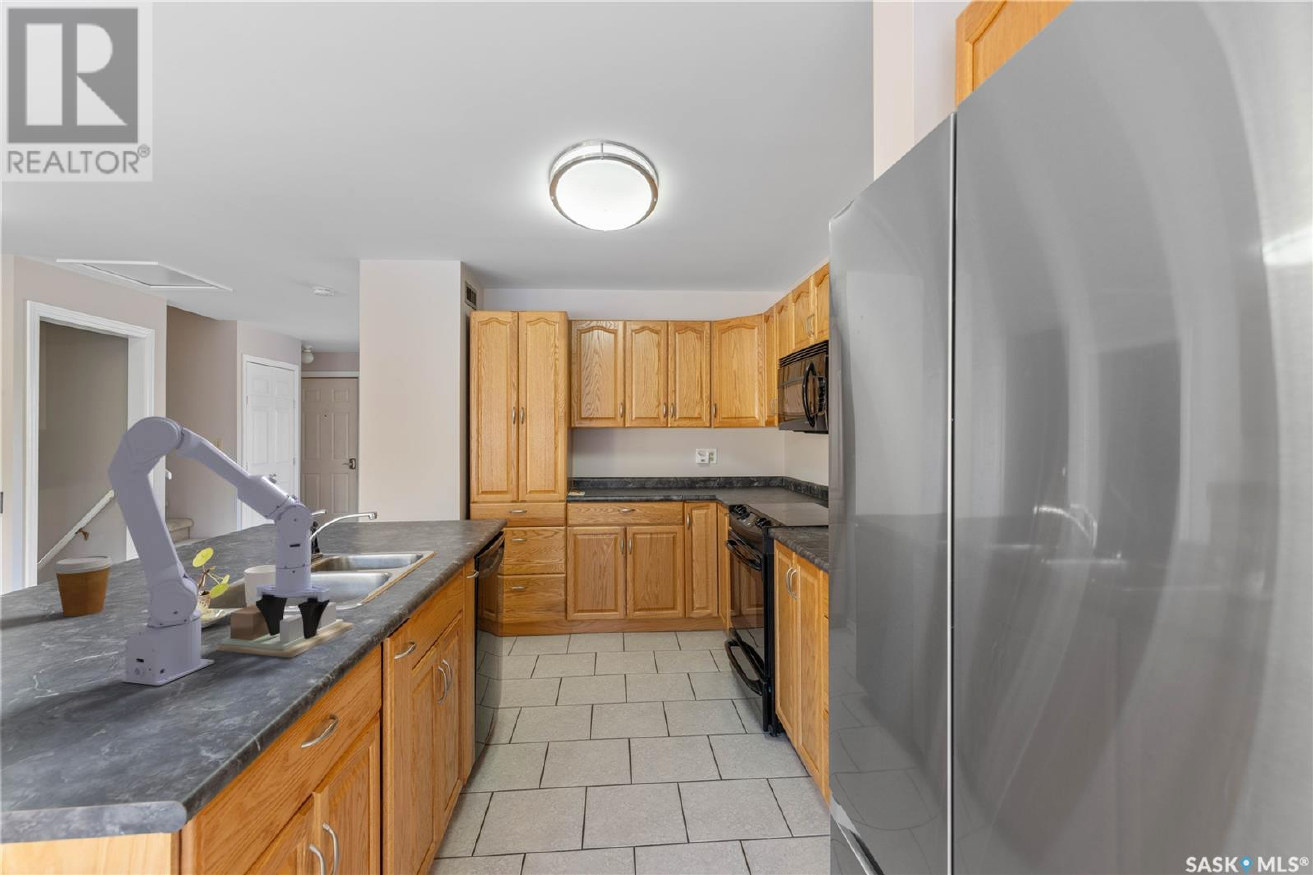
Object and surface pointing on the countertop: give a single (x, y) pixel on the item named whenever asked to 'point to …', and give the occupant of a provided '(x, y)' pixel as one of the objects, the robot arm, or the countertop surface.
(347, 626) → the base
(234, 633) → the walnut block
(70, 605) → the disposable coffee cup
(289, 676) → the countertop surface
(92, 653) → the countertop surface
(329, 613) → the white strip
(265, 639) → the green strip
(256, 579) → the white cup
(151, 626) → the robot arm
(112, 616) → the countertop surface
